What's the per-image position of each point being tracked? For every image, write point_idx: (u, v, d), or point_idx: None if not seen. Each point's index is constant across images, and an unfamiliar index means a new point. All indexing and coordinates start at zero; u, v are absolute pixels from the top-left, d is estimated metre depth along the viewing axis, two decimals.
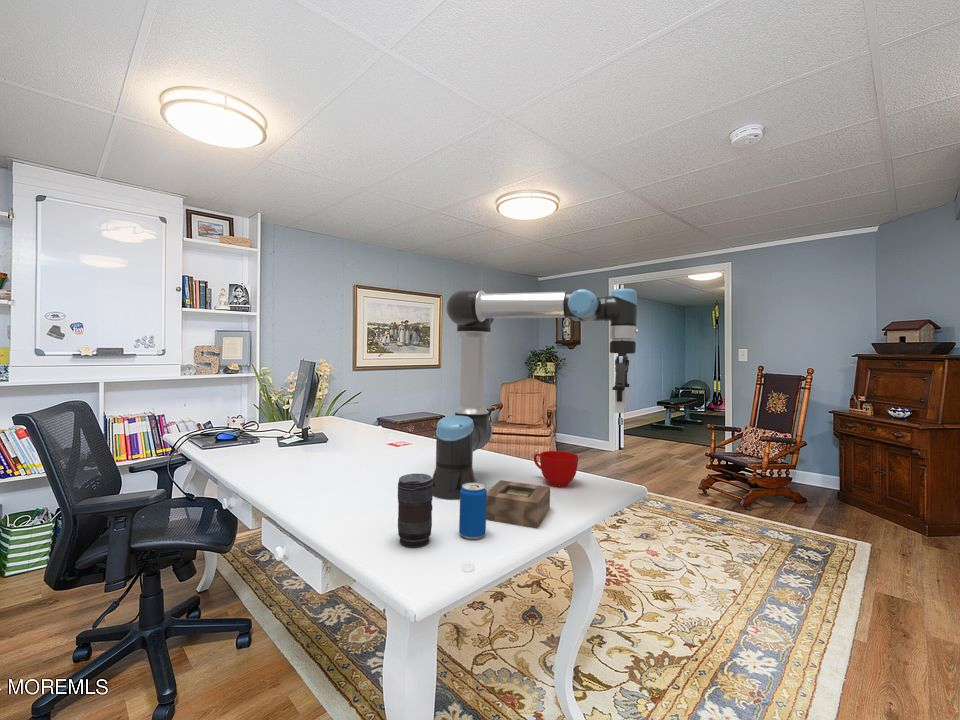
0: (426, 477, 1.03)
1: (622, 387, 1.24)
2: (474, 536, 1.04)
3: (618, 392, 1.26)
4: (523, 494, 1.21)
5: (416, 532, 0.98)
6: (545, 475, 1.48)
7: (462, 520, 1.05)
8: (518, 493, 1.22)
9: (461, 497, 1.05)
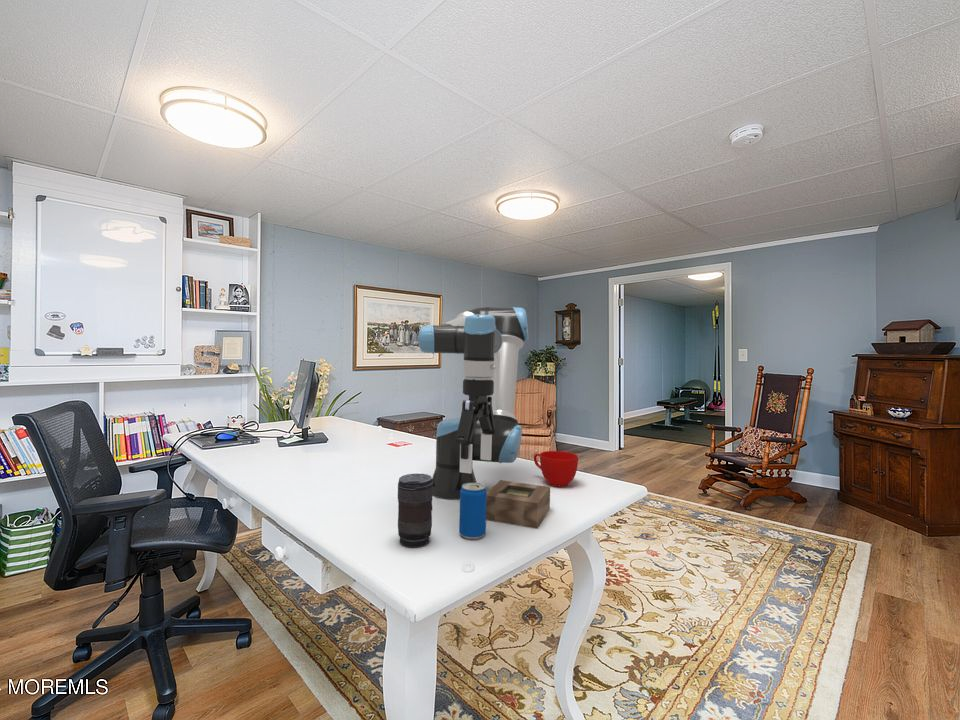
0: (426, 477, 1.03)
1: (464, 442, 0.97)
2: (474, 536, 1.04)
3: (462, 447, 0.99)
4: (523, 494, 1.21)
5: (416, 532, 0.98)
6: (545, 475, 1.48)
7: (462, 520, 1.05)
8: (518, 493, 1.22)
9: (461, 497, 1.05)
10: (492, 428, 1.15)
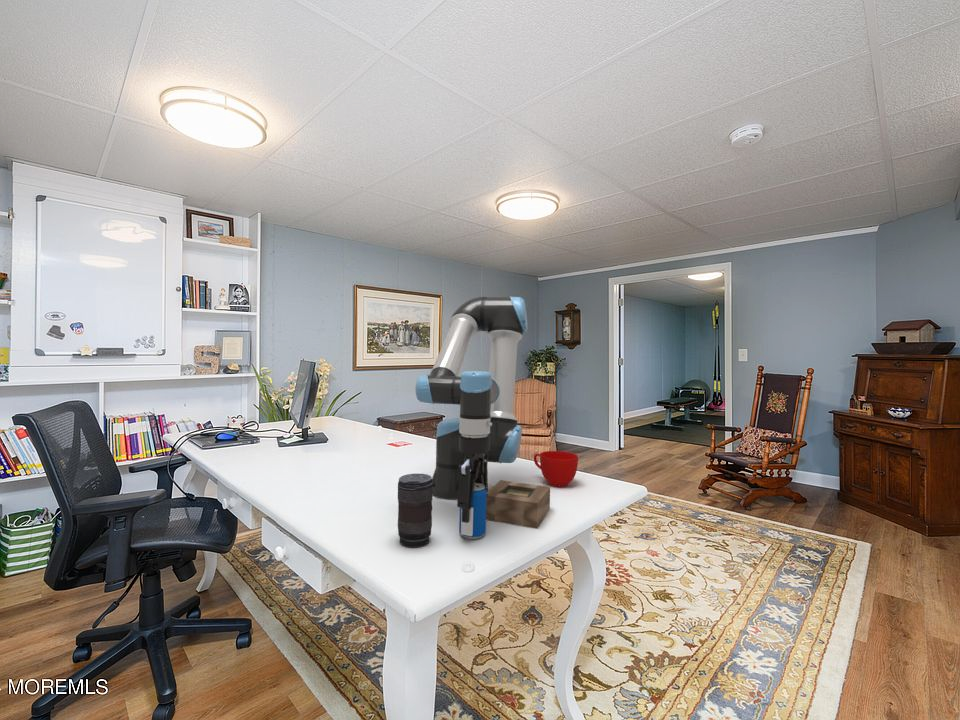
0: (426, 477, 1.03)
1: (465, 507, 1.00)
2: (474, 536, 1.04)
3: (463, 511, 1.02)
4: (523, 494, 1.21)
5: (416, 532, 0.98)
6: (545, 475, 1.48)
7: None
8: (518, 493, 1.22)
9: None
10: None
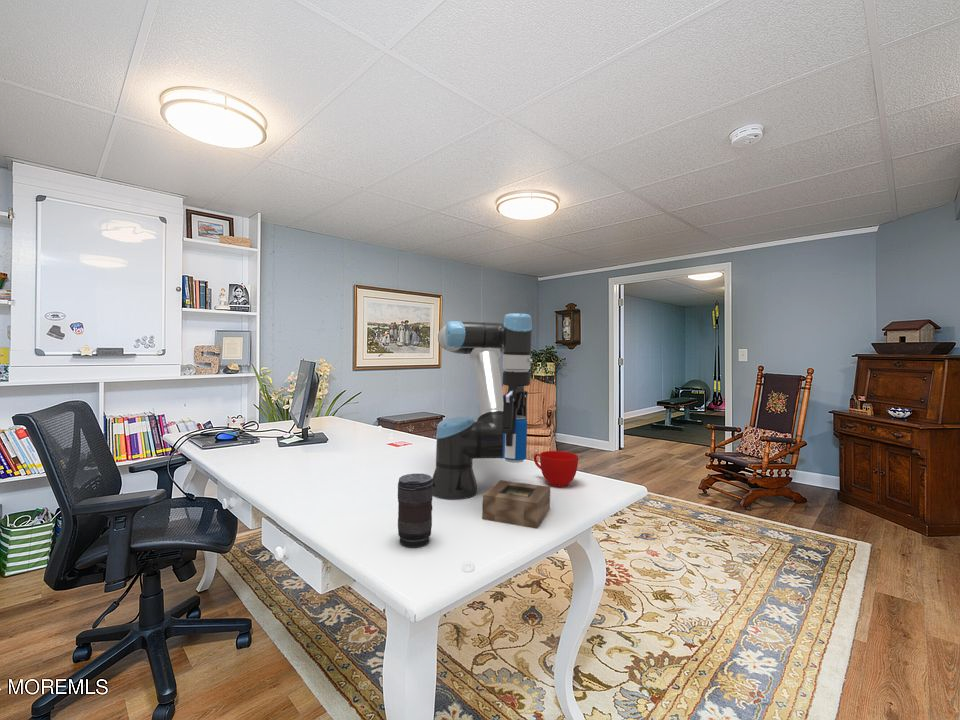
0: (426, 477, 1.03)
1: (509, 431, 1.13)
2: (516, 459, 1.16)
3: (507, 436, 1.15)
4: (523, 494, 1.21)
5: (416, 532, 0.98)
6: (545, 475, 1.48)
7: None
8: (518, 493, 1.22)
9: None
10: None
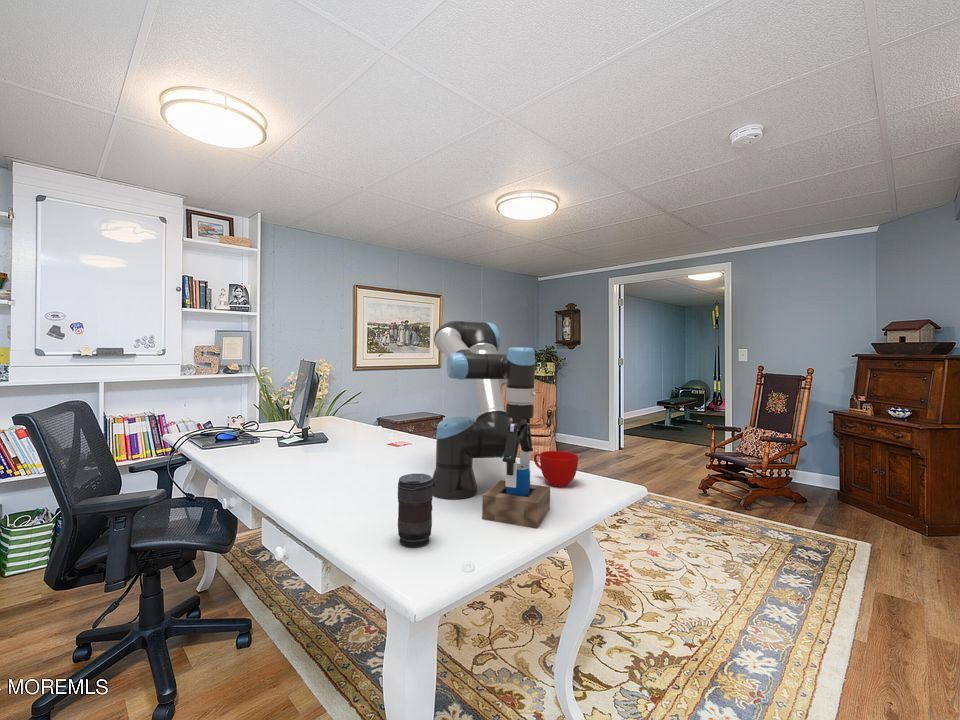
0: (426, 477, 1.03)
1: (511, 460, 1.11)
2: None
3: (508, 465, 1.13)
4: None
5: (416, 532, 0.98)
6: (545, 475, 1.48)
7: None
8: None
9: None
10: (530, 446, 1.29)
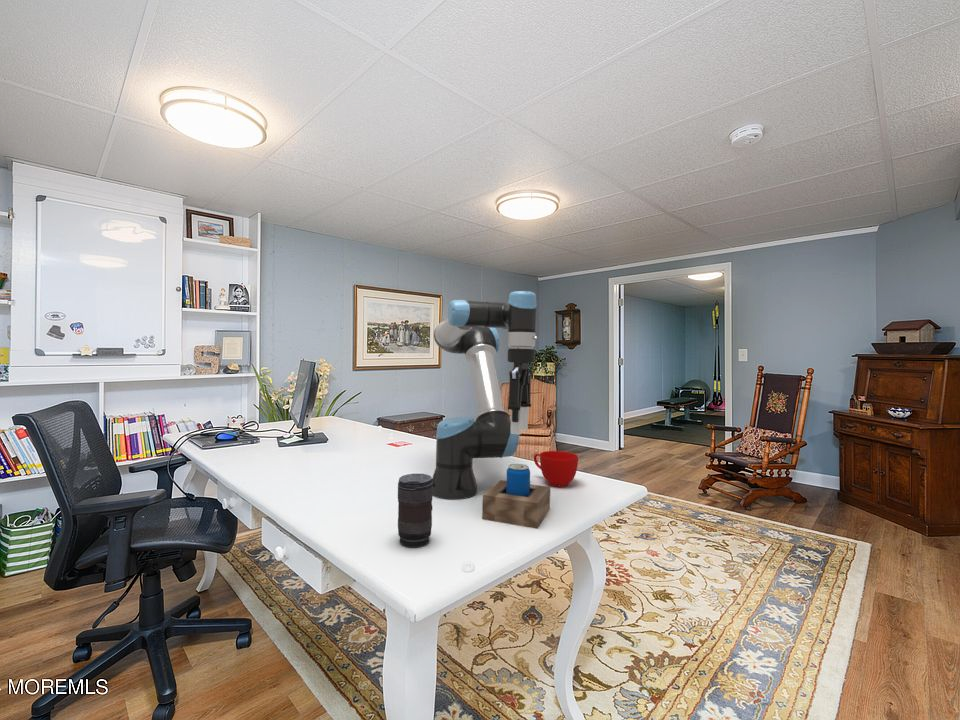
0: (426, 477, 1.03)
1: (516, 407, 1.14)
2: None
3: (513, 412, 1.16)
4: None
5: (416, 532, 0.98)
6: (545, 475, 1.48)
7: None
8: None
9: (508, 476, 1.20)
10: None
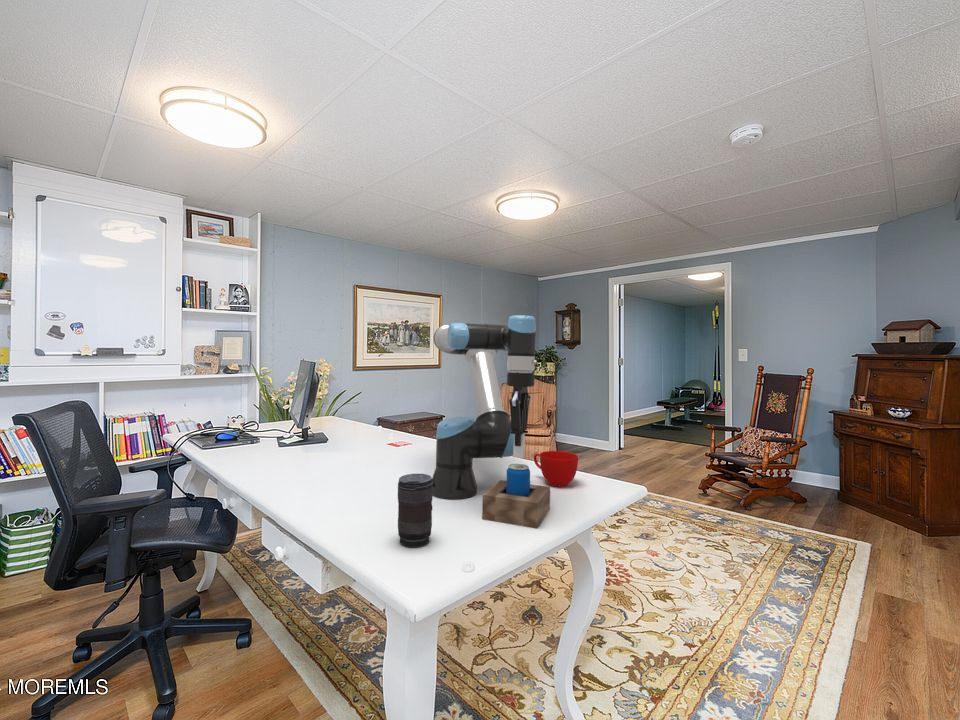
0: (426, 477, 1.03)
1: (518, 432, 1.17)
2: None
3: (516, 436, 1.19)
4: None
5: (416, 532, 0.98)
6: (545, 475, 1.48)
7: None
8: None
9: (508, 476, 1.20)
10: None
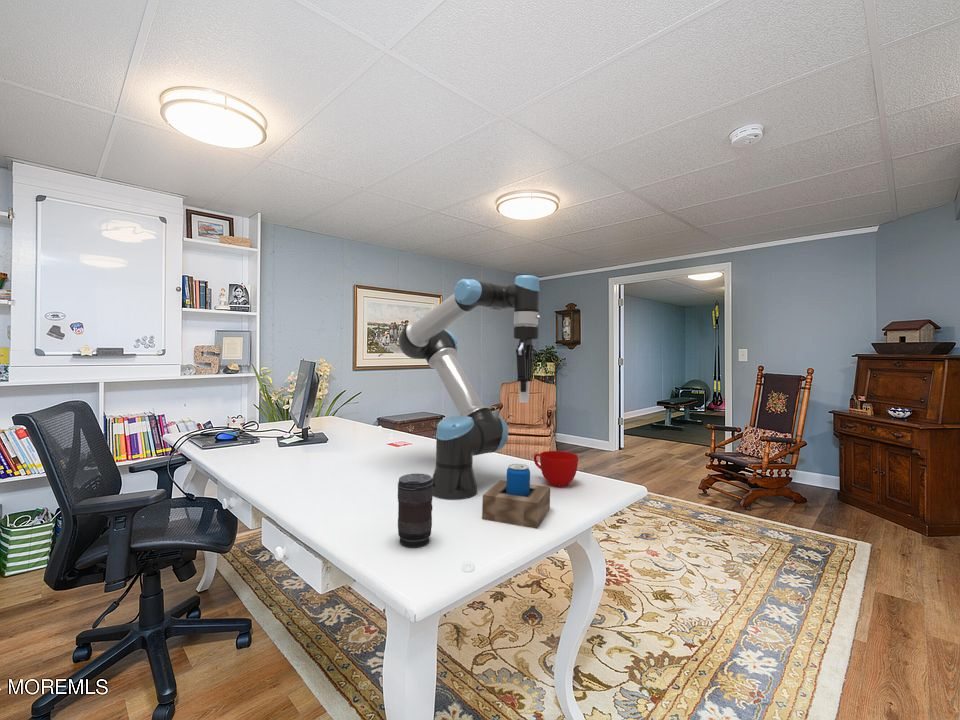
0: (426, 477, 1.03)
1: (524, 378, 1.32)
2: None
3: (522, 383, 1.34)
4: None
5: (416, 532, 0.98)
6: (545, 475, 1.48)
7: None
8: None
9: (508, 476, 1.20)
10: None
